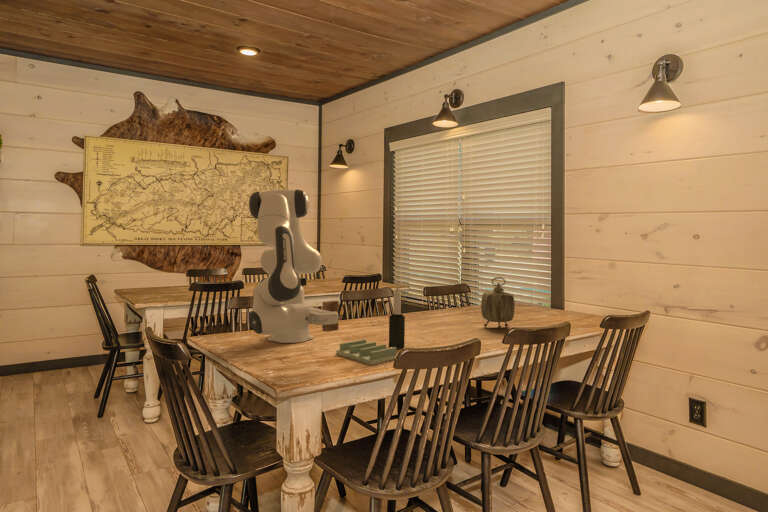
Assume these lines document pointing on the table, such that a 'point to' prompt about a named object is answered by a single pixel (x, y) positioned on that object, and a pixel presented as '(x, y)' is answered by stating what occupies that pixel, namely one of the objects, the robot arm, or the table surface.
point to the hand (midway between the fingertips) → (332, 312)
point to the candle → (396, 323)
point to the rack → (367, 351)
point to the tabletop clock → (497, 305)
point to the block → (330, 307)
